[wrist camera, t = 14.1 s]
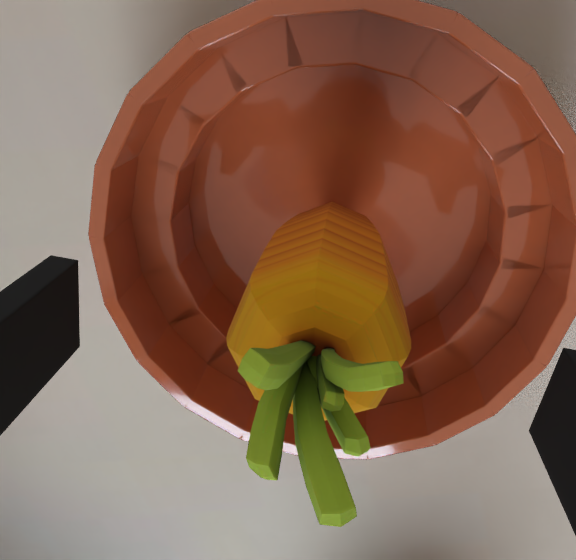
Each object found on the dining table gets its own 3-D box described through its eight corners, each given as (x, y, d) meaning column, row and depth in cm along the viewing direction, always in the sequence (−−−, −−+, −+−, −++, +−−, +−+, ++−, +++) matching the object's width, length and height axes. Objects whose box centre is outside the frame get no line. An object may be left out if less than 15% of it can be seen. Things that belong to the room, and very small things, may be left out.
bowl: (574, 323, 25) (632, 404, 20) (239, 408, 30) (212, 493, 24) (483, -85, 19) (530, -129, 14) (81, 99, 24) (-2, 120, 18)
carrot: (277, 161, 23) (155, 353, 9) (397, 164, 22) (450, 371, 9) (278, 269, 25) (180, 554, 11) (388, 275, 24) (420, 579, 11)
